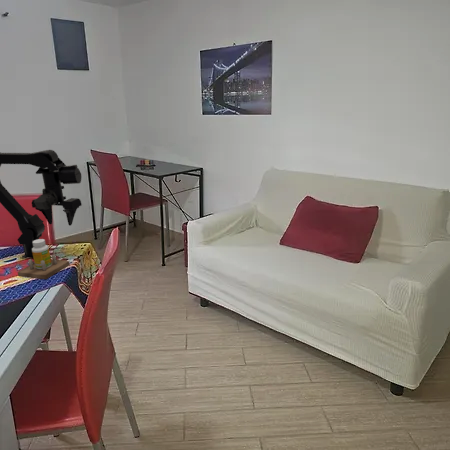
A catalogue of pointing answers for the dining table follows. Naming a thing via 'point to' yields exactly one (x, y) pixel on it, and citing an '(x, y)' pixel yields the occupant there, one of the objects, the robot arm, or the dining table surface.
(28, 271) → the peg cradle
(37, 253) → the supplement bottle
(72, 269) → the dining table surface
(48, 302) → the dining table surface
